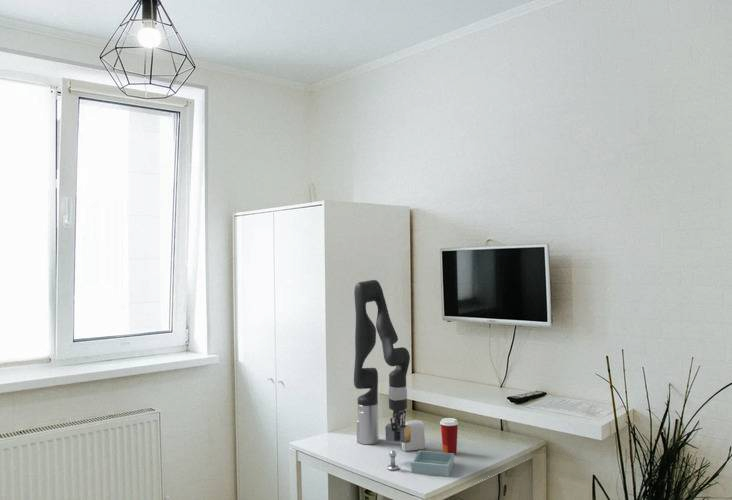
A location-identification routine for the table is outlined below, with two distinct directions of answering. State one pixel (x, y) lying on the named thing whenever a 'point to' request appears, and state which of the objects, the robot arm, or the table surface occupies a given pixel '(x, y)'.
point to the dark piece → (404, 433)
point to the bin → (432, 463)
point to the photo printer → (415, 436)
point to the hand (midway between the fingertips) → (398, 438)
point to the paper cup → (449, 435)
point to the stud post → (392, 462)
